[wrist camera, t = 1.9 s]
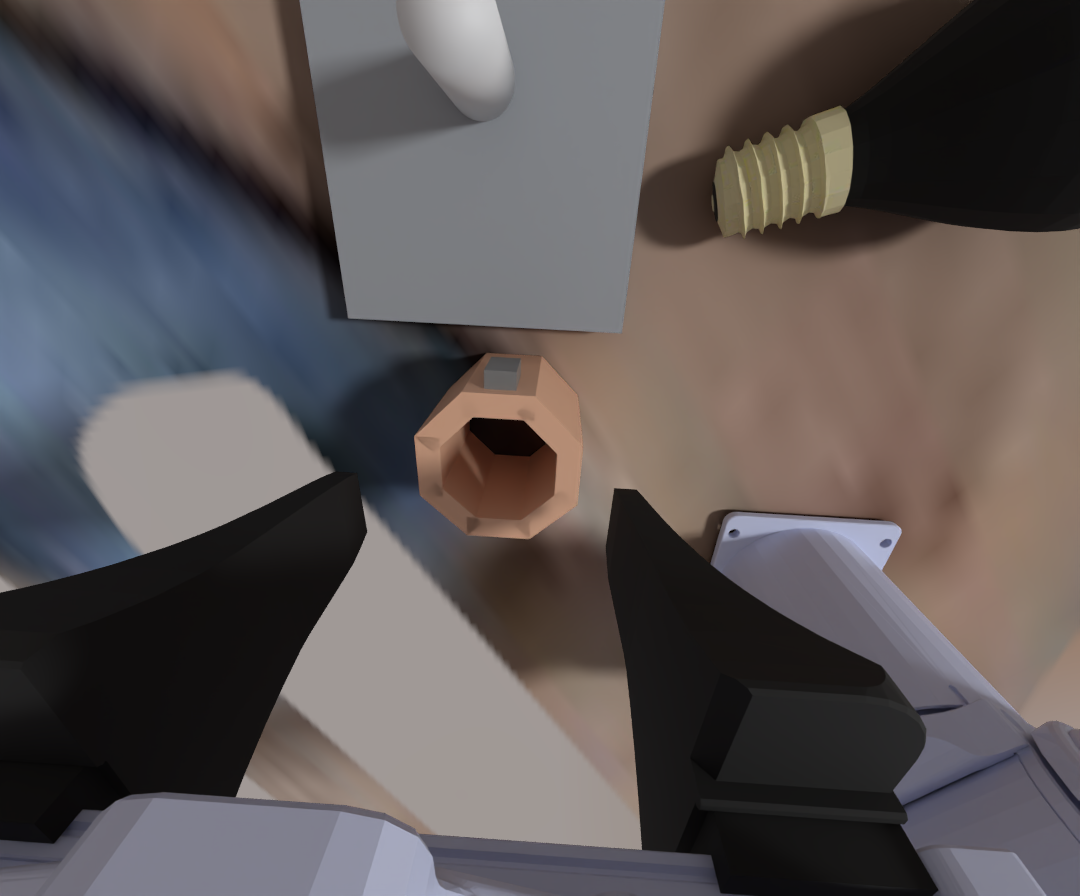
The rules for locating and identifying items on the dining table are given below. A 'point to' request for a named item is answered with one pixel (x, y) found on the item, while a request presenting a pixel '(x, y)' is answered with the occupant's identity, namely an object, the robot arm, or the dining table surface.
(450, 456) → the collar
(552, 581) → the dining table surface
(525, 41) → the duct plate
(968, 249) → the dining table surface
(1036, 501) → the dining table surface
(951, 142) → the light bulb
